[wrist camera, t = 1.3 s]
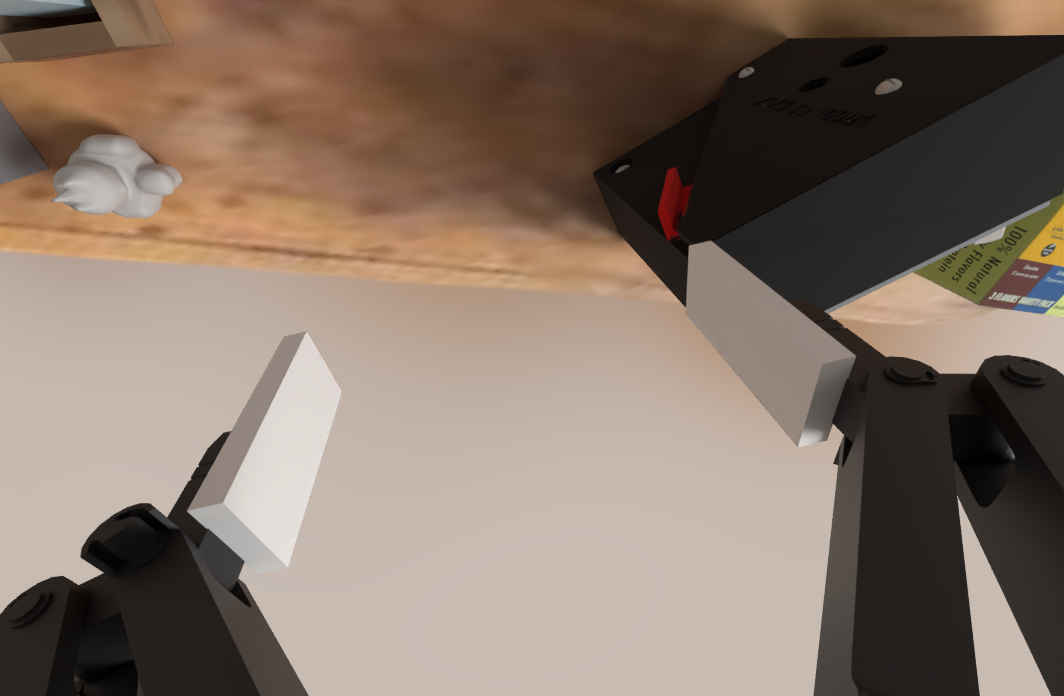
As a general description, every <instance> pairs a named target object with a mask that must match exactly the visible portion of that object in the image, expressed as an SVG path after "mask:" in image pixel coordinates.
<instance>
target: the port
mask: <svg viewBox="0 0 1064 696" xmlns="http://www.w3.org/2000/svg"><path fill="white" fill-rule="evenodd" d="M47 169H49V168H48V166H47V165H46V164H45V162H44V161H43V159H42V158H41V157H40V155H39V154H38V152H37V151H36V150H35V148H34V147H33V146H32V144H31V143H30V141H29V140H28V139H27V137H26V136H25V134H24V133H23V132H22V130H21V129H20V127H19V126H18V125H17V123H16V122H15V120H14V119H13V118H12V116H11V115H10V113H9V112H8V111H7V109H6V108H5V107H4V105H3V104H2V102H1V101H0V184H2V183H6V182H9V181H12V180H15V179H18V178H21V177H25V176H28V175H31V174H34V173H37V172H41V171H44V170H47Z"/></svg>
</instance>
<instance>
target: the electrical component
mask: <svg viewBox="0 0 1064 696" xmlns="http://www.w3.org/2000/svg"><path fill="white" fill-rule="evenodd" d="M721 96H722V97H720V98H719V99H717V100H715V101H714V102H712V103H710V104H709V105H707V106H705V107H704V108H702V109H700V110H698V111H697V112H695V113H693V114H692V115H690V116H688V117H687V118H685V119H683V120H682V121H680V122H678V123H677V124H675V125H673V126H671V127H670V128H668V129H666V130H665V131H663V132H661V133H660V134H658V135H656V136H655V137H653V138H651V139H650V140H648V141H646V142H644V143H643V144H641V145H639V146H638V147H636V148H634V149H633V150H631V151H629V152H628V153H626V154H624V155H623V156H621V157H619V158H618V159H616V160H614V161H612V162H611V163H609V164H607V165H606V166H604V167H602V168H601V169H599V170H597V171H596V172H594V173H593V174H594V177H595V179H596V181H597V184H598V186H599V188H600V191H601V193H602V195H603V198H604V200H605V202H606V205H607V207H608V209H609V212H610V214H611V216H612V219H613V221H614V223H615V226H616V228H617V230H618V233H619V234H620V235H621V236H622V237H623V238H624V239H625V240H626V241H627V243H628V244H629V245H630V246H631V247H632V248H633V249H634V250H635V251H636V253H637V254H638V255H639V256H640V257H641V258H642V259H643V260H644V262H645V263H646V264H647V265H648V266H649V267H650V268H651V269H652V270H653V272H654V273H655V274H656V275H657V276H658V277H659V278H660V279H661V281H662V282H663V283H664V284H665V285H666V286H667V287H668V288H669V289H670V291H671V292H672V293H673V294H674V295H675V296H676V297H677V298H678V299H679V301H680V302H681V303H682V304H683V305H684V306H685V307H686V298H687V277H688V256H689V245H694V244H698V243H703V242H707V241H712V242H713V243H714V244H716V245H717V246H718V247H719V248H721V249H722V250H723V251H724V252H726V253H727V254H728V255H730V256H731V257H732V258H733V259H735V260H736V261H737V262H738V263H740V264H741V265H742V266H743V267H745V268H746V269H747V270H748V271H750V272H751V273H752V274H753V275H755V276H756V277H757V278H758V279H760V280H761V281H762V282H764V283H765V284H766V285H767V286H769V287H770V288H771V289H772V290H774V291H775V292H776V293H777V294H779V295H780V296H781V297H782V298H784V299H785V300H786V301H787V302H793V301H798V300H801V301H804V302H806V303H809V304H812V305H814V306H817V307H819V308H820V309H822V310H823V311H824V312H826V313H827V314H828V313H830V312H833V311H835V310H837V309H839V308H841V307H843V306H845V305H847V304H849V303H851V302H853V301H855V300H857V299H859V298H861V297H863V296H865V295H867V294H869V293H871V292H873V291H875V290H877V289H879V288H882V287H884V286H886V285H888V284H890V283H892V282H894V281H896V280H898V279H900V278H902V277H904V276H906V275H908V274H910V273H912V272H914V271H916V270H918V269H920V268H922V267H924V266H926V265H928V264H931V263H933V262H935V261H937V260H939V259H941V258H943V257H945V256H947V255H949V254H951V253H953V252H955V251H957V250H959V249H961V248H963V247H965V246H967V245H969V244H972V245H976V244H982V243H988V242H992V241H995V240H998V239H1000V238H1002V236H1003V234H1004V230H1005V227H1006V226H1008V225H1010V224H1012V223H1014V222H1016V221H1018V220H1020V219H1022V218H1024V217H1027V216H1029V215H1031V214H1033V213H1035V212H1037V211H1039V210H1041V209H1043V208H1045V207H1047V206H1049V204H1050V200H1051V199H1053V198H1055V197H1057V196H1059V195H1061V194H1063V191H1064V35H1025V36H949V37H873V38H797V39H788V40H786V41H785V42H783V43H781V44H780V45H778V46H776V47H775V48H773V49H772V50H770V51H768V52H767V53H765V54H763V55H762V56H760V57H758V58H757V59H755V60H754V61H752V62H750V63H749V64H747V65H745V66H744V67H742V68H740V69H739V70H737V71H735V72H734V73H733V74H731V75H730V76H729V77H728V80H727V83H726V86H725V89H724V92H723V94H722V95H721Z"/></svg>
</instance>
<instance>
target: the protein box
mask: <svg viewBox="0 0 1064 696" xmlns="http://www.w3.org/2000/svg"><path fill="white" fill-rule="evenodd" d="M913 273H915V274H917V275H919V276H922V277H924V278H926V279H928V280H930V281H932V282H934V283H936V284H938V285H939V286H941V287H943V288H945V289H948V290H950V291H951V292H953V293H956V294H958V295H960V296H962V297H964V298H966V299H968V300H970V301H972V302H973V303H975V304H977V305H980V306H987V307H994V308H1001V309H1009V310H1016V311H1017V310H1018V311H1024V312H1032V313H1039V314H1045V315H1052V316H1060V317H1064V191H1063V194H1061V195H1059V196H1057V197H1055V198H1053V199H1051V200H1050V204H1049V206H1047V207H1045V208H1043V209H1041V210H1039V211H1037V212H1035V213H1033V214H1031V215H1029V216H1027V217H1024V218H1022V219H1020V220H1018V221H1016V222H1014V223H1012V224H1010V225H1008V226H1006V227H1005V230H1004V234H1003V236H1002V238H1000V239H998V240H995V241H992V242H988V243H982V244H976V245H972V244H969V245H967V246H965V247H963V248H961V249H959V250H957V251H955V252H953V253H951V254H949V255H947V256H945V257H943V258H941V259H939V260H937V261H935V262H933V263H931V264H928V265H926V266H924V267H922V268H920V269H918V270H916V271H914V272H913Z"/></svg>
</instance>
